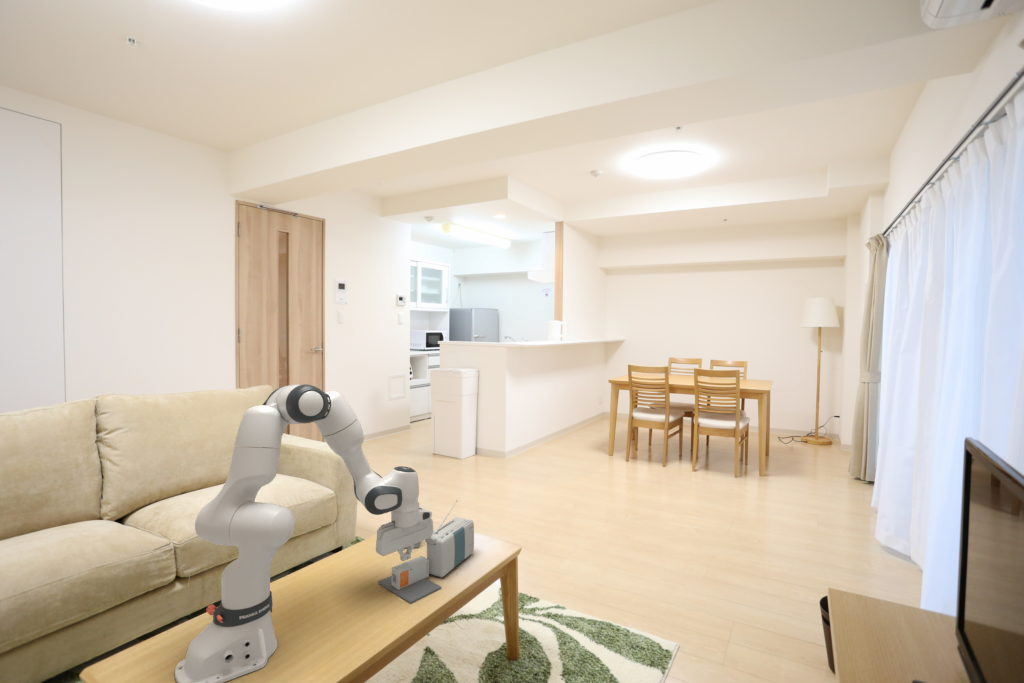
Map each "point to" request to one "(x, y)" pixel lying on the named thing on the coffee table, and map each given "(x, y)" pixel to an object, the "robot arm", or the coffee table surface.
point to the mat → (411, 589)
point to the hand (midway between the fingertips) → (405, 559)
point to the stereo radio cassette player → (450, 545)
